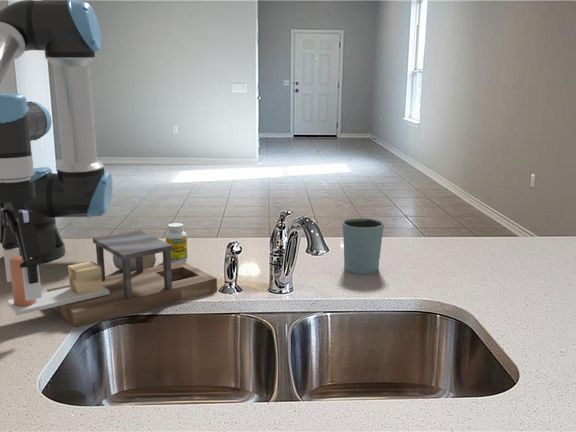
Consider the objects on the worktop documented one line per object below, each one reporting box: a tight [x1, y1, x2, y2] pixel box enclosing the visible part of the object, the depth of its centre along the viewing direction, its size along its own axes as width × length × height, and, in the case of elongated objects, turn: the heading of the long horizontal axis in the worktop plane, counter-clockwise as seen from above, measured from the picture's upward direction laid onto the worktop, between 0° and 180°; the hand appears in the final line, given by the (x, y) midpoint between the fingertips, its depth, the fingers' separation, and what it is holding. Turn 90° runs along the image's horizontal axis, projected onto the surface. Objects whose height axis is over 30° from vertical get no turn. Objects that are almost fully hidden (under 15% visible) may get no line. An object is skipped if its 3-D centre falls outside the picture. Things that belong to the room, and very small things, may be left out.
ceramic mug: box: [112, 254, 157, 272], centre depth 148 cm, size 11×8×8 cm
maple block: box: [67, 260, 103, 295], centre depth 121 cm, size 5×5×5 cm
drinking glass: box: [342, 217, 385, 275], centre depth 147 cm, size 10×10×12 cm
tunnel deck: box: [46, 230, 218, 328], centre depth 128 cm, size 16×32×12 cm, turn 129°
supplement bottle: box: [165, 222, 188, 263], centre depth 154 cm, size 5×5×10 cm
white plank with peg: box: [6, 256, 110, 316], centre depth 118 cm, size 7×18×10 cm, turn 129°
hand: (23, 289), depth 114 cm, fingers open, 12 cm apart
